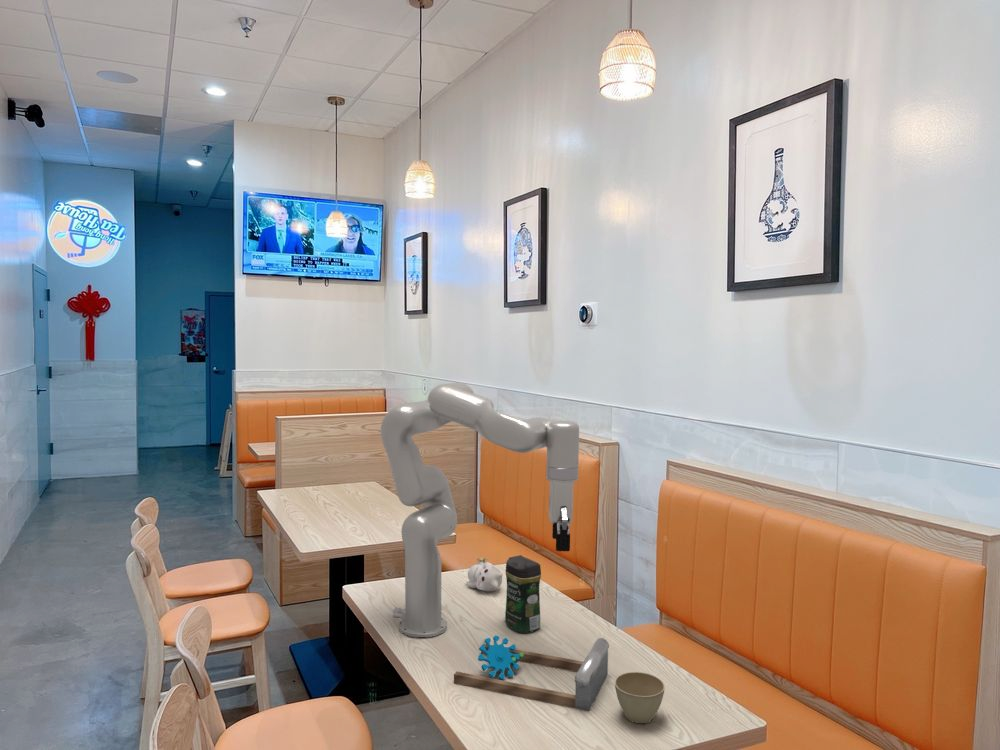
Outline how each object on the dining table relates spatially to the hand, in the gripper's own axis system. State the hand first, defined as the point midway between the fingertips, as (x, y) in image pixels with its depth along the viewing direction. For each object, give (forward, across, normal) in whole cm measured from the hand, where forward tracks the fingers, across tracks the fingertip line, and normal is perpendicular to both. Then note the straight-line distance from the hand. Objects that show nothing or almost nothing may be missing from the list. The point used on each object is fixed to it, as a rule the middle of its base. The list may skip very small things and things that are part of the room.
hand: (560, 544), depth 167 cm
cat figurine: (+29, -47, -18) cm, 58 cm away
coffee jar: (+28, -19, -8) cm, 35 cm away
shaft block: (+28, +15, +6) cm, 32 cm away
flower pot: (+28, +26, +14) cm, 41 cm away
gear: (+28, +7, -14) cm, 32 cm away
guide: (+28, +9, -8) cm, 31 cm away
